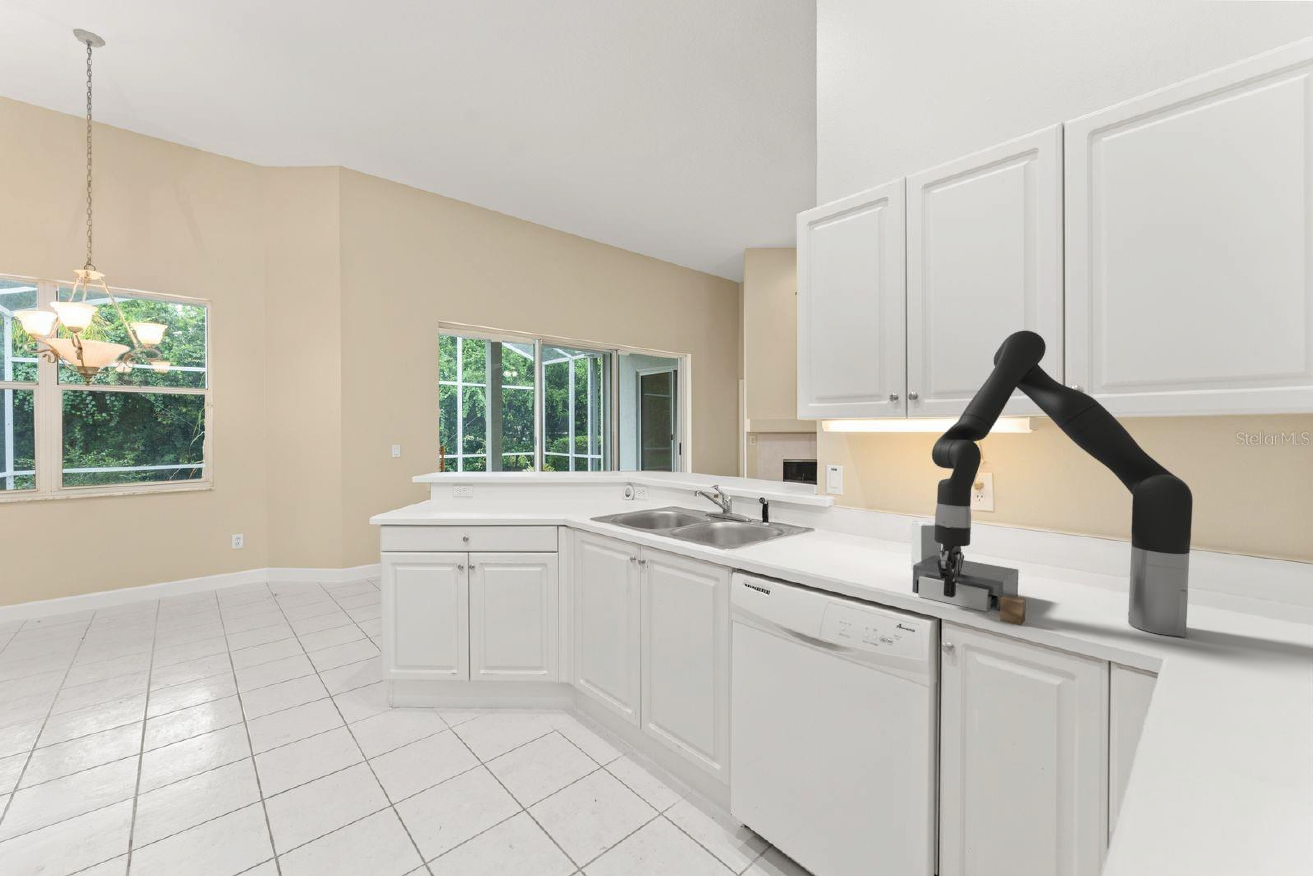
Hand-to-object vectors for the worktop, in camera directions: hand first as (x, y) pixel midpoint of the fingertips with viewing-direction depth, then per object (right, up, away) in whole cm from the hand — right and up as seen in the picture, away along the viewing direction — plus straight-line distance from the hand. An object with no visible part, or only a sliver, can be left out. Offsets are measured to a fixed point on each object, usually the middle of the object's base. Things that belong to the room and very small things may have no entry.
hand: (949, 596), depth 130 cm
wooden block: (+9, -3, -9) cm, 13 cm away
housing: (+9, -2, +10) cm, 14 cm away
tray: (+8, -2, +8) cm, 11 cm away
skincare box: (+9, -2, +30) cm, 31 cm away
